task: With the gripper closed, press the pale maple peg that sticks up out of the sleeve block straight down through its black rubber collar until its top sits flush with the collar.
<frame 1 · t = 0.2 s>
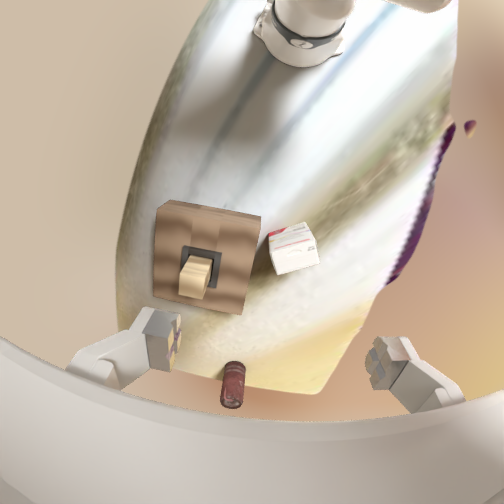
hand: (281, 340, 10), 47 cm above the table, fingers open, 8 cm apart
ink box: (289, 235, 59), on the table
can: (235, 366, 76), on the table
peg: (196, 274, 50), point 12 cm above the table, slide at 0.0 cm
sleeve block: (208, 250, 61), on the table
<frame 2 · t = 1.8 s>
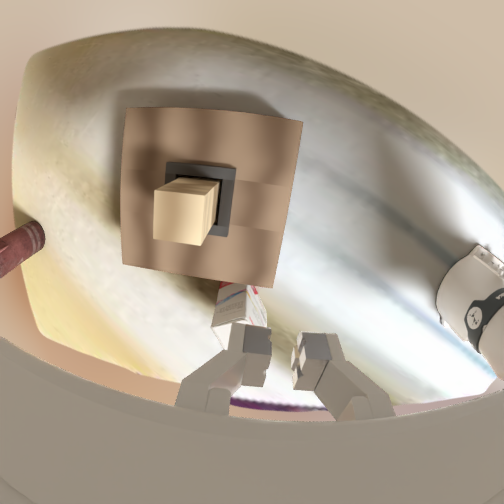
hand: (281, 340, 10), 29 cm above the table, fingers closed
ink box: (245, 296, 44), on the table
can: (37, 233, 41), on the table
peg: (190, 205, 26), point 12 cm above the table, slide at 0.0 cm
sleeve block: (211, 185, 37), on the table
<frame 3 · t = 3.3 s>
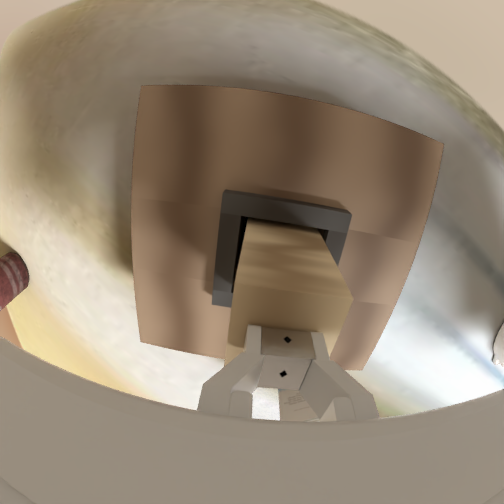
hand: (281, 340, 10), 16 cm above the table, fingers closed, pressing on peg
ink box: (303, 358, 32), on the table
can: (19, 268, 29), on the table
peg: (279, 282, 14), point 11 cm above the table, slide at 0.2 cm, touching gripper
sleeve block: (273, 220, 25), on the table
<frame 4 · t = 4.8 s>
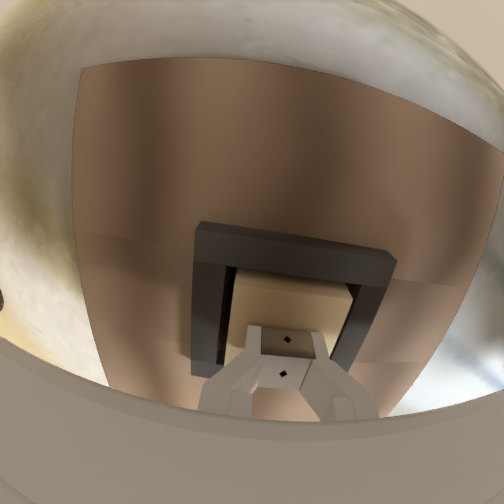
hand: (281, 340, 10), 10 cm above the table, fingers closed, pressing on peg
peg: (279, 282, 14), point 5 cm above the table, slide at 6.5 cm, touching gripper
sleeve block: (275, 246, 19), on the table
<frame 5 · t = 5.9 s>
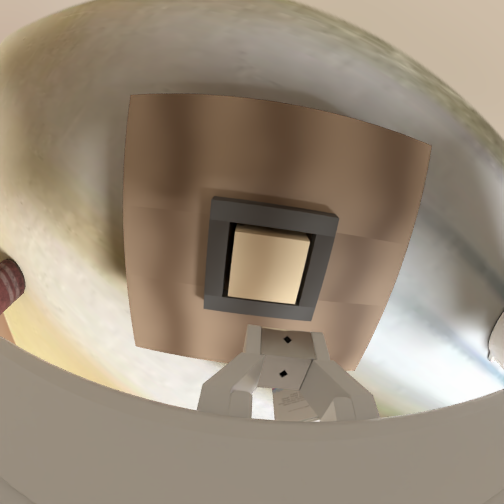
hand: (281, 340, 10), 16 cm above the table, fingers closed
ink box: (297, 359, 32), on the table
can: (15, 274, 29), on the table
peg: (265, 243, 21), point 5 cm above the table, slide at 6.6 cm
sleeve block: (264, 224, 25), on the table
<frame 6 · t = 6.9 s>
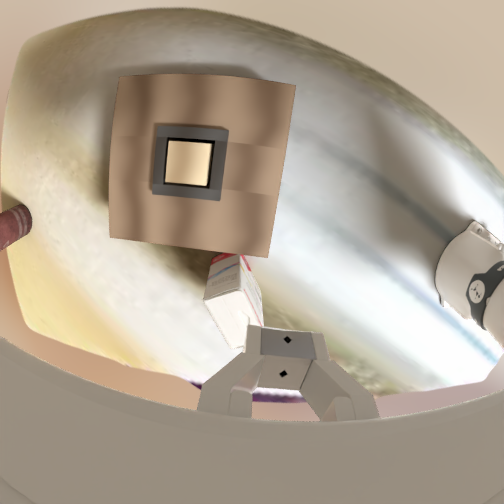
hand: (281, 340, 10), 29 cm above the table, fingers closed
ink box: (238, 274, 42), on the table
can: (24, 218, 38), on the table
peg: (195, 159, 30), point 5 cm above the table, slide at 6.6 cm
sleeve block: (202, 157, 35), on the table
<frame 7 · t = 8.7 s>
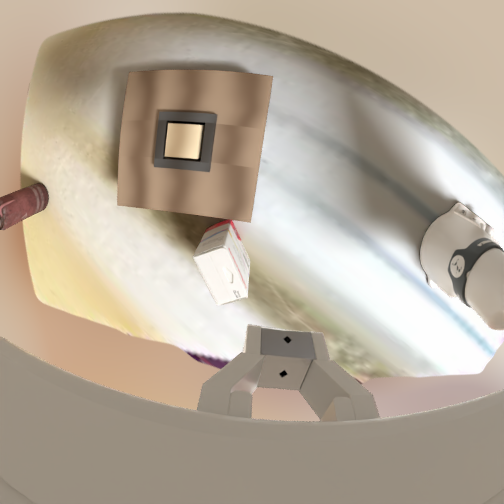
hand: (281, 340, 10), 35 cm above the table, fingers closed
ink box: (229, 244, 47), on the table
can: (41, 195, 44), on the table
peg: (191, 140, 35), point 5 cm above the table, slide at 6.6 cm
sleeve block: (199, 140, 40), on the table
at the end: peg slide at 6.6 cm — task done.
